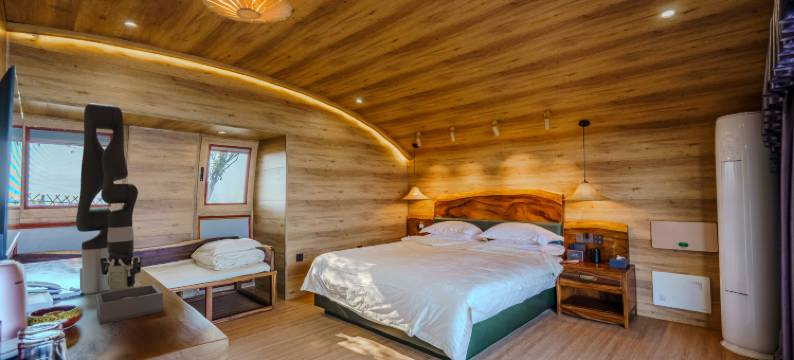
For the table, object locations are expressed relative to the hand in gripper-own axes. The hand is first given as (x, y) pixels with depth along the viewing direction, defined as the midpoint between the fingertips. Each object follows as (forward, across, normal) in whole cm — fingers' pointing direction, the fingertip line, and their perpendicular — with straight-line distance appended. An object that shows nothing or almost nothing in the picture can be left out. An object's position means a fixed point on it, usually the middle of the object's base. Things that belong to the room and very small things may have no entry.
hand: (121, 286), depth 134 cm
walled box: (+5, -12, +11) cm, 17 cm away
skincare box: (+5, 0, 0) cm, 5 cm away
